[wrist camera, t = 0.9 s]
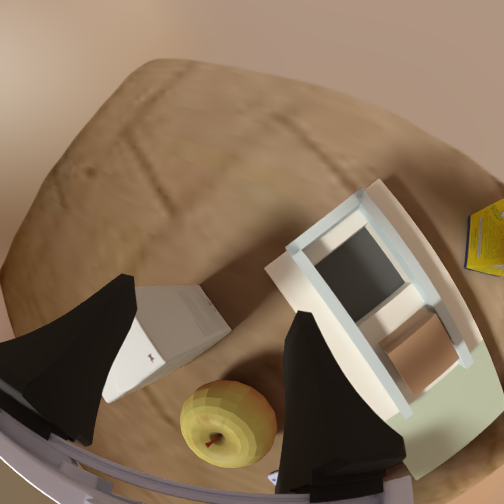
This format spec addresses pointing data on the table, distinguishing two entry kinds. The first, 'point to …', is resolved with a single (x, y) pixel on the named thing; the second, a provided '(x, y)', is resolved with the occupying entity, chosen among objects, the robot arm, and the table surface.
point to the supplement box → (486, 240)
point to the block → (420, 350)
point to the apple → (228, 424)
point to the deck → (391, 321)
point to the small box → (163, 336)
